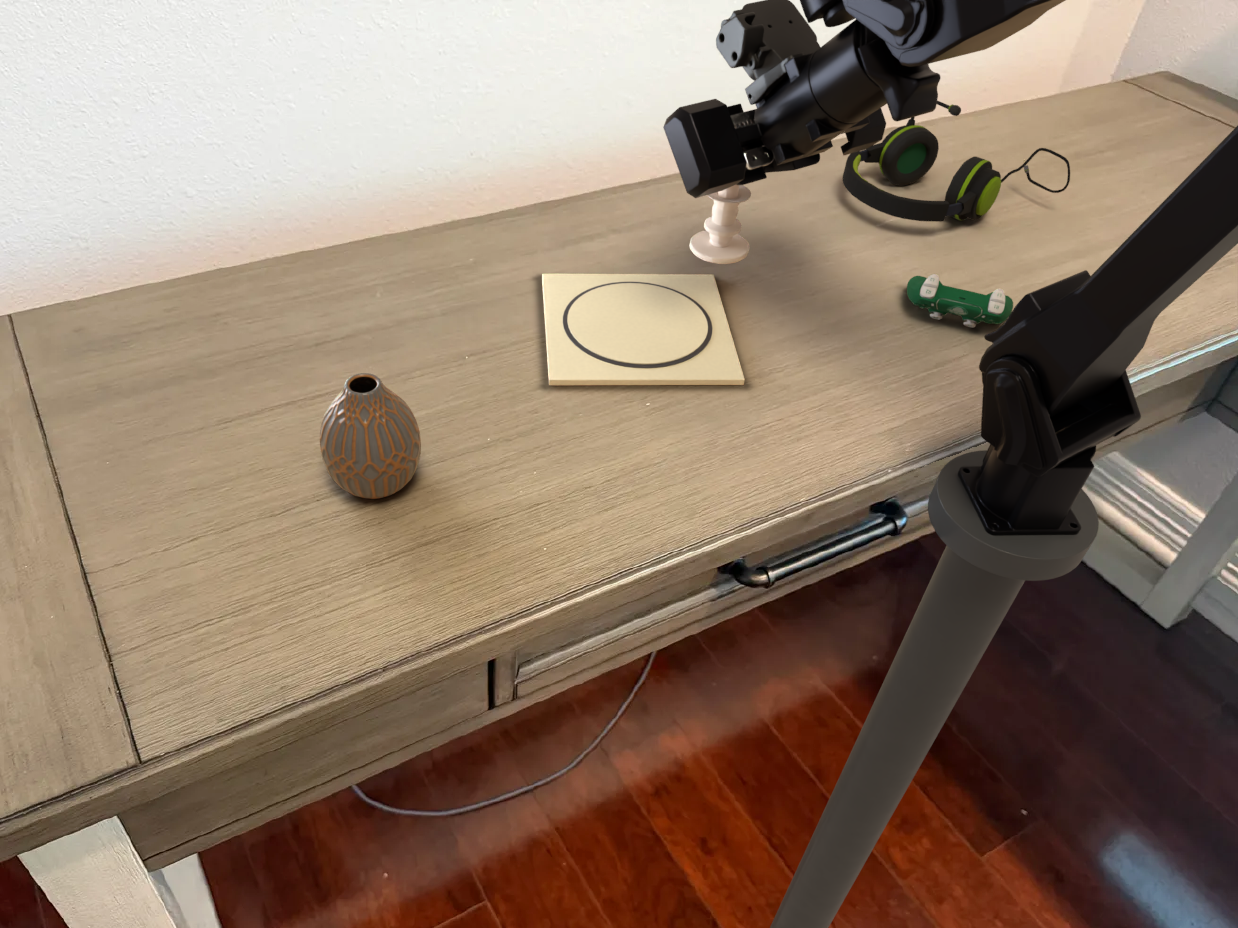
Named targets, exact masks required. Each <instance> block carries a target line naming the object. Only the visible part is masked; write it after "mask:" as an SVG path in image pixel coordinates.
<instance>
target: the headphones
mask: <svg viewBox="0 0 1238 928" xmlns="http://www.w3.org/2000/svg"><path fill="white" fill-rule="evenodd" d="M936 106H940V107H942V108H944V109H946V110H947V112H948V113H949V114H950V115H951V116H954V117H958V116H960V114H961V113H962V108H961V106H959V105H957V104H950V105H949V104H947V103H944V102H942V101H940V100H937V104H936ZM915 118H916V116H915V117H912V118H908V119H907V123H905V125H901V126H899V127H897V128H895V129H893V130H891V131H890V132H889V133H888V134H887V135H886V136H885V137H884V138H883V139H882V140H881V142H878V143H876V144H874V145H872V146H871V147H869V148H867V149H865V150H862V151H858V152H855V153H851V154H848V156H847V158H846V162H845V165H844V170H843V174H842V179H841V181H842V184H843V186H844V189H846V191H848V193H849V194H850V195H851V196H853V198H855V199H857V200H858V201H859V202H861V203H863V204H865V205H866V206H868V207H870V208H872V209H874V210H876V211H878V212H881V213H883V214H886V215H889V216H891V217H894V218H900V219H903V220H908V221H909V220H910V221H916V222H945V219H946V217H950V218H953V219H956V220H958V221H965V220H967V219H969V220H972V221H978V220H980V219H982V218H983V217H984V216H985V215H986V214H987V213H988V212H989V211H990V209H991V208H992V207H993V205H994V203H995V202H996V199H997V198H998V195H999V193H1000V191H1001V186H1002V183H1003V182H1004V181H1005V180H1006V179H1008V178H1009V177H1010V176H1011V175H1012V174H1015V173H1017V172H1020V171H1021V170H1022V169H1023V170H1024V173H1025V175H1026V179H1027V180H1028V182H1029V183H1031V184H1033V185H1035V186H1036V187H1039V188H1041V189H1042V190H1045V191H1047V192H1049V193H1052V194H1058V193H1062V192H1064V191H1065V190H1066V189H1067V188H1068V187H1069V184H1070V182H1071V166H1070V162H1069V160H1068V159H1067V157H1065V156H1063V155H1062V154H1060V153H1058V152H1056V151H1054V150H1052V149H1050V148H1047V147H1039V148H1037V149H1036V150H1035V151H1034V152H1032V153H1031V155H1030V156H1029V157H1028V158H1027V159H1025V158H1023V163H1022V164H1021V165H1020V166H1019V167H1018V168H1015V169H1013V170H1010V171H1009V172H1008V173H1007V174H1005V175H1004V176H1003V177H1002V175H1001V172H1000V171H998V170H995V169H993V163H992V162H991V160H988V159H985V158H981V157H979V156H972V157H969V158H968V159H966V160H965V161H964V162H963V163H962V164H961V165H960V167H959V168H958V169H957V171H956V172H955V174H954V175H953V176H952V179H951V180H950V183H949V185H948V188H947V190H946V192H945V196H944V200H923V199H915V198H910V197H904V196H900V195H896V194H893V193H891V192H888V191H885V190H884V189H881V188H879V187H877V186H876V185H875V184H873V183H871V182H869V181H868V180H867V179H865V178H864V177H862V176H861V174H860V172H859V166H860V163H862V162H864V163H866V164H878V166H879V171H880V172H881V174H882V175H883V176H884V177H885V178H886V179H887V180H888V182H890V183H891V184H893V185H894V186H900V187H901V186H903V187H904V186H908V185H911V184H914V183H915V182H917V181H919V180H921V179H923V177H924V176H926V174H927V173H928V172H929V171H930V170H931V169H932V167H933V166H934V164H935V162H936V160H937V159H938V153H939V149H940V148H939V147H940V146H939V140H938V138H937V136H936V135H935V134H933V132H931V131H930V130H929V129H928V128H926V127H925V126H922V125H919V124H916V120H915ZM1039 152H1046V153H1049V154H1051V155H1053V156H1055V157H1056V158H1057V157H1058V158H1060V160H1063V161H1064V162H1065V164H1066V167H1067V177H1066V178H1067V179H1066V184H1065V185H1064V186H1063V188H1060V189H1058V190H1057V189H1055V190H1054V189H1050V188H1048V187H1046V186H1044V185H1043V184H1041V183H1039V182H1037V181H1035V180H1033V179H1032V178H1031V174H1030V167H1029V165H1028V164H1029V162H1030V161H1031V160H1032V159H1034V157H1035V156H1036V155H1037V154H1038V153H1039Z"/></svg>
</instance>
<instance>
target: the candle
mask: <svg viewBox="0 0 1238 928" xmlns="http://www.w3.org/2000/svg"><path fill="white" fill-rule="evenodd" d="M751 195H752V192H751V189H749V188H748V187H747V186H746V185H734V186H731V187H729V188H727V189H725V190H723V191H719V192H716V193H712V194H709V195H706V196H707V197H708V198H710V199H711V200H712V201H713V205H712V207H711V215H710V216H708V217H706V219H705V220H704V223H703V228H704V230H702V231H701V230H700V231H699V232H697V233H695V234H693V235H692V237H690V241H689V249H690V251H691V252H692V253H693V255H694V256H696V257H697V258H698V259H700V260H702V261H705V262H708V263H711V264H719V265H729V264H735V263H739V262H741V261H742V260H744V259H746V258H747V256H748V255H749V251H750V243H749V242H748V240H747V239H746V238H745V237H743V236H742V235H741V234H739V233H741V231H742V222H741V221H740V220H739V219H737V217H738V214H739V205H740V204H741V203H744V202H746V201H748V200H749V199H750V198H751V197H752V196H751Z"/></svg>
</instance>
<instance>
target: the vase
mask: <svg viewBox="0 0 1238 928" xmlns="http://www.w3.org/2000/svg"><path fill="white" fill-rule="evenodd" d="M319 448H320V453H321V457H322V461H323V464H324V467H325V469H326V471H327V472H328V474H329V476H330V477H331V479H332V480H333V481H334V482H335V483H336V485H337V486H339V487H340V489H342V490H344V491H345V492H347V493H348V494H350V495H353V496H355V497H359V498H362V499H369V500H374V499H375V500H377V499H383V498H387V497H389V496H392V495H394V494H395V493H397V492H399V491H400V490H402V489H403V488H405V486H406V485H408V483H409V482H410V481H411V480H412V478H413V477H414V475H415V473H416V471H417V469H418V466H419V463H420V458H421V452H422V439H421V432H420V427H419V424H418V422H417V418H416V417H415V415H414V412H413V411H412V409H411V408H410V406H409V405H408V404H407V402H406V401H405V400H404V399H403V398H402V397H401V396H399V395H398V394H397V393H396V392H395V391H393V390H391V389H390V388H388V387H387V386H386V385H385V384H384V382H383V381H382V380H381V378H379V377H378V376H377V375H375V374H373V373H369V372H361V373H356V374H353V375H351V376H350V377H348V378H347V379H346V380H345V382H344V385H343V387H342V389H341V390H340V392H339V393H338V395H336V396H335V398H333V400H332V401H331V402H330V404H329V405H328V407H327V409H326V410H325V412H324V415H323V417H322V420H321V425H320V430H319Z"/></svg>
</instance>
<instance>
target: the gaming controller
mask: <svg viewBox="0 0 1238 928" xmlns="http://www.w3.org/2000/svg"><path fill="white" fill-rule="evenodd" d="M906 294H907V298H908V299H909V301H910V302H911V303H912V304H913V305H914V306H917V307H918V309H923V310H924V309H927V311H928V313H929V317H930V318H931V319H933V320H938V321H939V320H941V319H943V317H944V316H946V315H947V314H951V315H954V316H960V317H961V319H962V321H963V325H964V326H965V327H967V328H975V327H976V326H977V325H978V324H980V323H981V322H984V323H986V324H990V325H991V324H993V325H1000V324H1002V323H1005V322H1006V320H1007V319H1008V317H1009V316H1010V314H1011V312H1012V311H1013V309H1014V301H1013V299H1012V297H1010V296H1009V295H1006V293H1005V291H1004V289H1002V288H996V289H994V290H993V291H992V292H989V293H988V294H983V293H979V292H975V291H971V290H966V289H961V288H958V287H954V286H949V285H944V284H943V283H942V282H941V280H940V276H939V275H938V274H936V273H932V274H930V275H928V276H927V277H926V276H922V275H914V276H912V277H911V278H910V279H909V280H908V281H907V286H906Z"/></svg>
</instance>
